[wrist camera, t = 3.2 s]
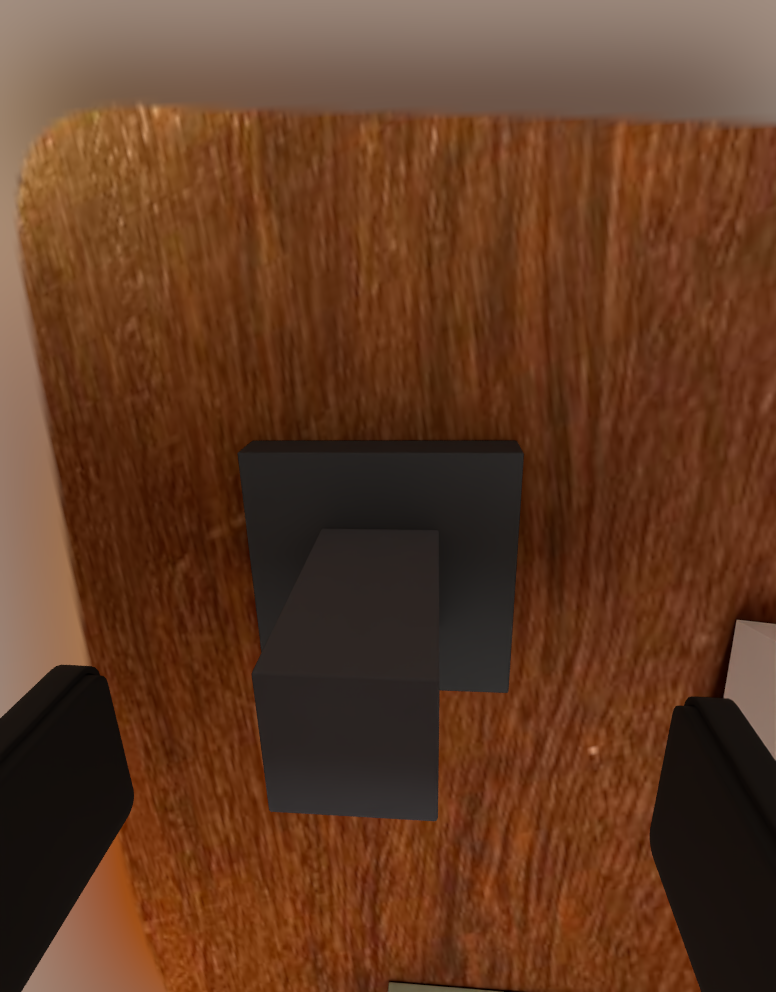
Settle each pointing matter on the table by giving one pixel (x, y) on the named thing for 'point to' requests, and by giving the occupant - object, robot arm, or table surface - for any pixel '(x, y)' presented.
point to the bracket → (755, 677)
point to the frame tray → (428, 988)
